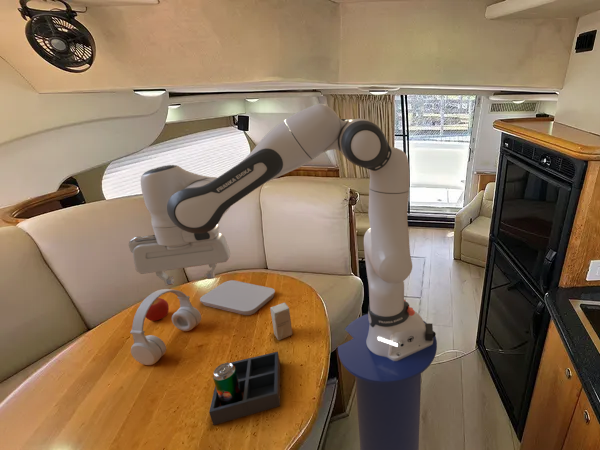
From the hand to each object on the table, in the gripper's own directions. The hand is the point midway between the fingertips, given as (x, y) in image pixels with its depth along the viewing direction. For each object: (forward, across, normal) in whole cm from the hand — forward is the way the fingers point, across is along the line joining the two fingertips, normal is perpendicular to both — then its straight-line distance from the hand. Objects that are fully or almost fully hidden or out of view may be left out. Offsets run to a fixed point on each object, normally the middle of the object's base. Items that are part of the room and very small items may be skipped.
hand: (191, 280), depth 82 cm
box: (+31, +19, +10) cm, 38 cm away
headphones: (+31, -16, +18) cm, 39 cm away
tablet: (+31, +2, +38) cm, 49 cm away
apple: (+31, -25, +35) cm, 53 cm away
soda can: (+30, +6, -15) cm, 34 cm away
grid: (+31, +10, -11) cm, 34 cm away
